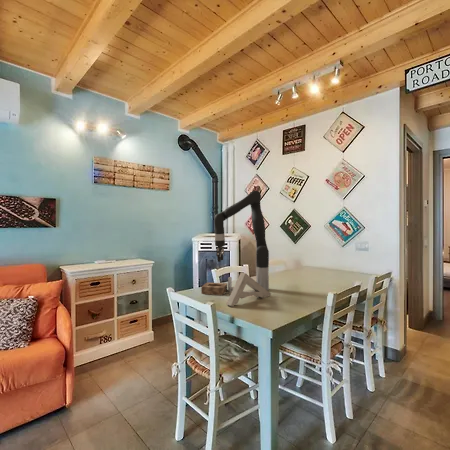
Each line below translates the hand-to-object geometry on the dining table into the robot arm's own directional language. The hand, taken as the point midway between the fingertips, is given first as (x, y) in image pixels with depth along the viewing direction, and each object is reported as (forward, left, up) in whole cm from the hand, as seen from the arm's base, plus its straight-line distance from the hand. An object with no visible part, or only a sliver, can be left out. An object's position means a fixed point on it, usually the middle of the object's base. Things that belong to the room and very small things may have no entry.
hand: (220, 260), depth 210 cm
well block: (+2, +9, -22) cm, 24 cm away
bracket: (-11, +4, -22) cm, 25 cm away
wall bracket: (-26, +26, -22) cm, 42 cm away
